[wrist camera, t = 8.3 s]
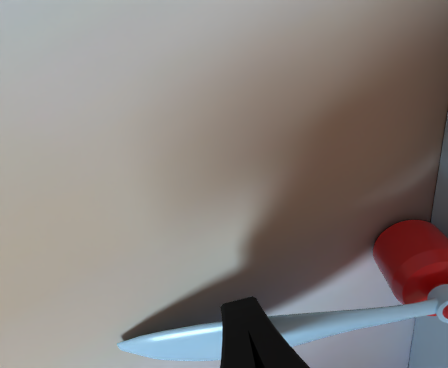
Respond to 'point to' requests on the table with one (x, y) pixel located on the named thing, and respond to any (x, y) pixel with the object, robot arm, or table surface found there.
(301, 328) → the propeller
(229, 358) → the robot arm
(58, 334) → the table surface
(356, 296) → the table surface
